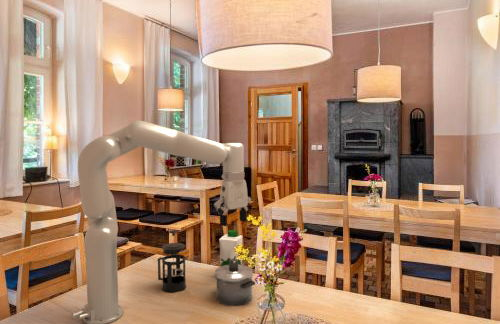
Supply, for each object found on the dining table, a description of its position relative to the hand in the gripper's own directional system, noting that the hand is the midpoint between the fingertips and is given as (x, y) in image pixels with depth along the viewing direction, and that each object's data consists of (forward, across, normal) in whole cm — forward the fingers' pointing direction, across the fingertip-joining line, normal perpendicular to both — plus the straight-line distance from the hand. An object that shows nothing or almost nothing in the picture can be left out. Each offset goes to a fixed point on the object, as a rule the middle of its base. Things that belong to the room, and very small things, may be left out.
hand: (233, 223), depth 131 cm
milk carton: (+28, +11, +14) cm, 33 cm away
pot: (+28, 0, 0) cm, 28 cm away
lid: (+19, 0, 0) cm, 19 cm away
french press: (+28, -11, +24) cm, 39 cm away
